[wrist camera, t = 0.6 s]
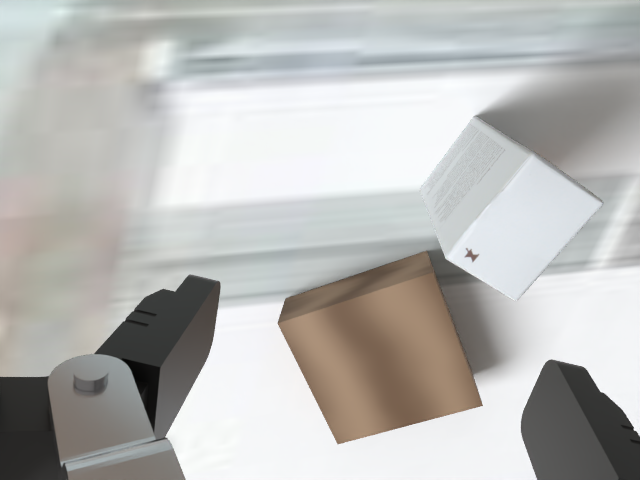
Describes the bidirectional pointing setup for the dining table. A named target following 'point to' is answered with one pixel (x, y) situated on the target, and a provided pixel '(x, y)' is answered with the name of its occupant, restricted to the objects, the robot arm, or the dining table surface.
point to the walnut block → (380, 349)
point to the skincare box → (503, 208)
